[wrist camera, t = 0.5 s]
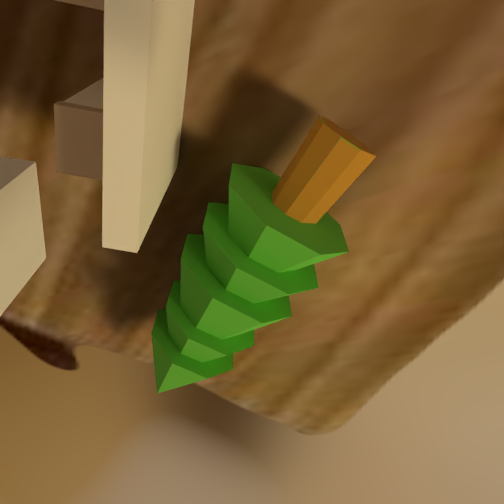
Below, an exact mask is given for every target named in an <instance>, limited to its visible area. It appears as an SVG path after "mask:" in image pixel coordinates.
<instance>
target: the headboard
mask: <svg viewBox="0 0 504 504" xmlns="http://www.w3.org/2000/svg"><path fill="white" fill-rule="evenodd" d="M56 1H61V2H65V3H70V4H75V5H80V6H84V7H89V8H94V9H99V10H103V11H104V78H102V79H100V80H99V81H97V82H95V83H94V84H92V85H90V86H88V87H87V88H85V89H83V90H82V91H80V92H78V93H77V94H75V95H73V96H72V97H70V98H68V99H67V100H65V101H58V102H56V103H55V104H54V121H55V141H56V161H57V172H59V173H64V174H70V175H76V176H81V177H87V178H92V179H98V180H103V206H102V247H104V248H110V249H116V250H122V251H128V252H134V253H137V252H138V250H139V248H140V246H141V244H142V242H143V239H144V237H145V235H146V233H147V231H148V229H149V227H150V224H151V222H152V220H153V218H154V216H155V214H156V211H157V209H158V207H159V205H160V203H161V201H162V199H163V196H164V194H165V192H166V190H167V188H168V186H169V184H170V181H171V179H172V177H173V175H174V173H175V171H176V169H177V166H178V157H179V148H180V138H181V128H182V119H183V109H184V99H185V90H186V80H187V70H188V60H189V51H190V41H191V31H192V22H193V12H194V2H195V0H56Z"/></svg>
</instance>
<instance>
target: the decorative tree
mask: <svg viewBox="0 0 504 504" xmlns="http://www.w3.org/2000/svg"><path fill="white" fill-rule="evenodd" d="M375 157H376V155H375V154H374V153H373V152H372V151H371V150H370V149H369V148H368V147H367V146H365V145H364V144H363V143H361V142H360V141H359V140H357V139H356V138H355V137H353V136H352V135H351V134H349V133H348V132H347V131H345V130H344V129H342V128H341V127H339V126H338V125H336V124H335V123H333V122H332V121H330V120H329V119H326V118H324V117H321V116H319V117H318V119H317V121H316V122H315V124H314V125H313V127H312V129H311V130H310V132H309V133H308V135H307V137H306V138H305V140H304V142H303V143H302V145H301V146H300V148H299V150H298V151H297V153H296V154H295V156H294V158H293V159H292V161H291V163H290V164H289V166H288V167H287V169H286V171H285V172H284V174H283V175H282V177H281V178H280V177H279V176H277V175H275V174H274V173H272V172H270V171H268V170H267V169H264V168H258V167H253V166H247V165H241V164H235V163H232V168H231V175H230V181H229V204H227V203H211V202H209V203H208V207H207V211H206V215H205V219H204V223H203V234H204V235H202V234H187V237H186V241H185V244H184V248H183V252H182V256H181V280H178V281H173V284H172V288H171V291H170V294H169V297H168V301H167V304H166V309H162V310H158V313H157V317H156V320H155V323H154V327H153V330H152V343H153V354H154V364H155V375H156V385H157V393H160V392H163V391H167V390H170V389H174V388H177V387H181V386H184V385H187V384H191V383H194V382H198V381H201V380H204V379H208V378H210V377H213V376H216V375H218V374H221V373H224V372H226V371H229V370H232V369H233V353H235V352H238V351H241V350H244V349H246V348H249V347H252V346H254V329H257V328H260V327H263V326H266V325H268V324H271V323H274V322H277V321H280V320H283V319H285V318H288V317H291V316H292V315H291V308H290V302H289V296H288V295H291V294H295V293H299V292H303V291H307V290H311V289H315V288H318V282H317V277H316V272H315V267H314V264H315V263H318V262H321V261H324V260H327V259H329V258H332V257H335V256H338V255H341V254H344V253H347V252H349V250H348V247H347V244H346V241H345V238H344V235H343V232H342V229H341V226H340V225H339V224H338V223H337V222H336V221H335V220H334V219H333V218H332V217H331V216H330V215H329V214H328V213H327V211H328V210H329V208H330V207H331V206H332V205H333V204H334V203H335V202H336V201H337V200H338V198H339V197H340V196H341V195H342V194H343V193H344V192H345V191H346V190H347V188H348V187H349V186H350V185H351V184H352V183H353V182H354V181H355V180H356V178H357V177H358V176H359V175H360V174H361V173H362V172H363V171H364V169H365V168H366V167H367V166H368V165H369V164H370V163H371V162H372V161H373V159H374V158H375Z"/></svg>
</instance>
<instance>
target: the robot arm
mask: <svg viewBox="0 0 504 504" xmlns="http://www.w3.org/2000/svg"><path fill="white" fill-rule="evenodd" d="M45 259H46V253H45V243H44V234H43V225H42V215H41V206H40V197H39V187H38V178H37V169H36V162H33V161H27V160H21V159H14V158H8V157H2V158H0V316H1V315H2V313H3V312H4V311H5V309H6V308H7V307H8V306H9V304H10V303H11V302H12V301H13V299H14V298H15V297H16V295H17V294H18V293H19V292H20V290H21V289H22V288H23V287H24V285H25V284H26V283H27V282H28V280H29V279H30V278H31V276H32V275H33V274H34V273H35V271H36V270H37V269H38V268H39V266H40V265H41V264H42V263H43V261H44V260H45Z"/></svg>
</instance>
